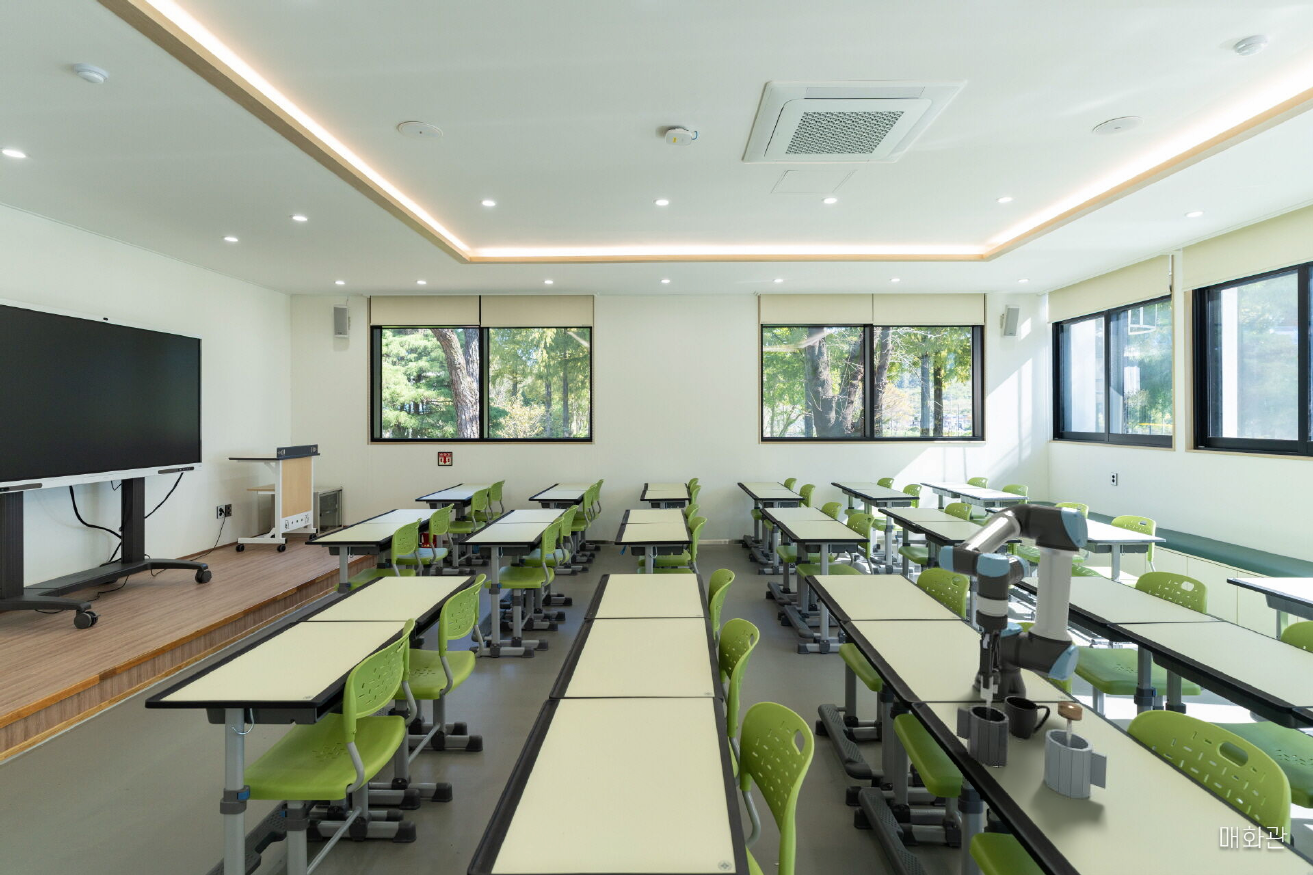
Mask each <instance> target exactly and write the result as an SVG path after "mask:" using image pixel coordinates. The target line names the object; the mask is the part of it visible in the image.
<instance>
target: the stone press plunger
mask: <svg viewBox="0 0 1313 875" xmlns="http://www.w3.org/2000/svg"><path fill="white" fill-rule="evenodd" d="M1057 714H1058V716H1060V717H1062V718H1064V719H1066V731H1067V735H1066V746H1067V747H1070V748H1071V733H1073V731H1072V729H1073V728H1072V727H1073V722H1075V721H1076V722H1079V721H1082V720H1083V708H1082V707H1081V706H1080V705H1079V704H1076V703H1075V702H1071V701H1066V700H1065V701H1064V700H1060V701H1058V702H1057Z"/></svg>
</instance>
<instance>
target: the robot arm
mask: <svg viewBox="0 0 1313 875" xmlns="http://www.w3.org/2000/svg"><path fill="white" fill-rule="evenodd" d="M1016 538H1024V539H1028V540H1029V539H1030V540H1035V544H1034V545H1035V547H1036V548H1037V550H1039V563H1038V565H1039V566H1038V579H1037V591H1036V605H1035V615H1034V616H1035V617H1034V625H1033V626H1031V627H1029V628H1028V632H1026V631H1024V629H1023V627H1022V625H1021V624H1019V623H1016V622H1011V621H1009V615H1007V614H1008V613H1009V593H1010V592H1009V590H1010V586H1012V585H1014V584H1018V583H1021V581H1022V580H1024V579H1025V578H1026V577H1027V576H1028V573H1029V567H1028V565H1027V562H1026V561H1025V559H1023V557H1020V556H1019V555H1015V554H1005V555H1003V554H999V553H994V552H996V551H997V550H998V549H999V548H1000V547H1001V546H1003V545H1004V544H1005V543H1006V542H1007V541H1012V540H1015V539H1016ZM1088 538H1089V530H1088V523H1087V519H1086V517H1085V515H1084V513H1083V512H1082V511H1080V510H1079V509H1075V508H1068V507H1065V506H1053V505H1052V506H1051V505H1045V504H1044V505H1043V504H1035V503H1017V504H1014V505H1010V506H1006V507H1005V508H1002V509H1000V510H998V511H997V512H995V513H993V514H992V515H991V516H990V518H989V520H988V522H987V523H986V524H985V525H983V526H982V527H981V528H979V529H978V530H977V531H975V533H973V534H971V536H969V537H968V538H966V540H964V541H963V542H962V543H960V544H959V545H958V546H954V545H944V546H942V547H941V549H940V550H939V554H938V564H939V567H940V569H942V570H944V571H947V572H951V573H953V574H954V573H955V574H961V575H964V576H970V577H975V578H976V595H975V596H974V597H973V600H975V601H976V602H975V603H976V604H975V605H976V607H975V608H976V610H975V624H976V625H977V626H979V627H981V632H980V638H981V639H979V647H980V648H979V666H978V667H979V668H978V670H977V672H976V674H975V677H974V682H973V683H974V684H973V685H974V688H975V689H976V690H977V691H978V692H980V697H979V698H980V699H983V700H986V701H987V700H989V701H991V702H992V701H993V699H995V700H998V701H999V700H1000V701H1004V702H1005V698H1006V697H1008V696H1017V697H1022V698H1025V699H1027V688H1026V685H1025V681H1024V678H1023V676H1022V669H1023V670H1026V671H1029V672H1032V673H1035V674H1039V675H1040V676H1041V675H1042V676H1045V677H1048V678H1049V679H1055V680H1059V681H1061V682H1062V681H1063V682H1064V681H1067V680H1069V679H1070V678H1071V677H1073V676H1072V675H1073V674H1074V672H1075V670H1076V668H1077V665H1078V661H1079V656H1080V652H1079V647H1078V646H1076V645H1075V644H1073V637H1072V635H1070V634H1069V632H1068V620H1069V612H1070V611H1069V608H1070V597H1071V596H1070V595H1071V584H1072V582H1071V580H1072V571H1073V559H1074V558H1073V557H1074V556H1075V555H1077V554H1079V553H1080V548H1084V547H1086V545H1087V542H1088ZM993 669H994V670H996V671H998V672H999V673H1000V684H998V685H993V676H992V670H993ZM979 675H981V681H980V680H979Z"/></svg>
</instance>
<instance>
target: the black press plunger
mask: <svg viewBox="0 0 1313 875" xmlns="http://www.w3.org/2000/svg"><path fill="white" fill-rule="evenodd" d="M992 676H993V685H998V684H1000V673H999V672H998V671H996V670H994V669H993V670H992ZM979 680H980V681H981V675H979ZM991 705H992V701H989V700H986V705H985V706H986V720H988V721H990V714H991V707H992V706H991Z"/></svg>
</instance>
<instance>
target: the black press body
mask: <svg viewBox="0 0 1313 875" xmlns="http://www.w3.org/2000/svg"><path fill="white" fill-rule="evenodd" d="M986 706H987V705H981V704H974V705H970V706H969V707H968V709H966V708H964V707H960V706H958V707H957V709H956V710H957V711H956V737H958V738H961V739H964V740H966V741H967V743H966V752H968V753H967V755H968V756H969V755H970V756H971V757H972V758H974V759H975V760H976V761H978V762H980V763H979V764H981V765H983V764H985V765H984V766H986V765H987V766H986V767H990V766H998V767H997V768H1000V767H999V766H1003V767H1006V766H1007V765H1008V764H1007V763H1008V762H1009V761H1008V759H1009V737H1010V736H1009V734H1010V733H1009V718H1008V716H1007V715H1006V714H1005V711H1004V712H1003V711H1002V710H1000V709H998V708H995V707H992V706H991V714H990V721H988V720H986ZM970 756H969V757H970ZM971 757H970V758H971ZM972 758H971V759H972ZM974 759H973V760H974ZM975 760H974V761H975ZM976 761H975V762H976ZM978 762H977V763H978ZM1005 765H1006V766H1005Z"/></svg>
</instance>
